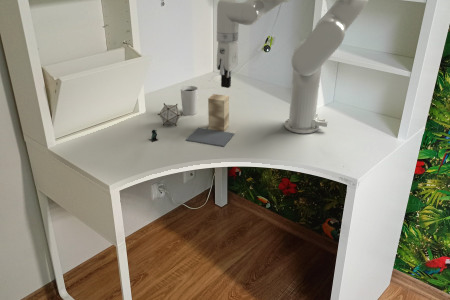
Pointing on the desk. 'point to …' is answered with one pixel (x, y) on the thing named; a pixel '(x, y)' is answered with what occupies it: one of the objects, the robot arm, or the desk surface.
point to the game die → (170, 114)
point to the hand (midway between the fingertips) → (225, 86)
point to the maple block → (218, 112)
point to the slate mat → (210, 137)
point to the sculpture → (153, 136)
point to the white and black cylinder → (189, 100)
